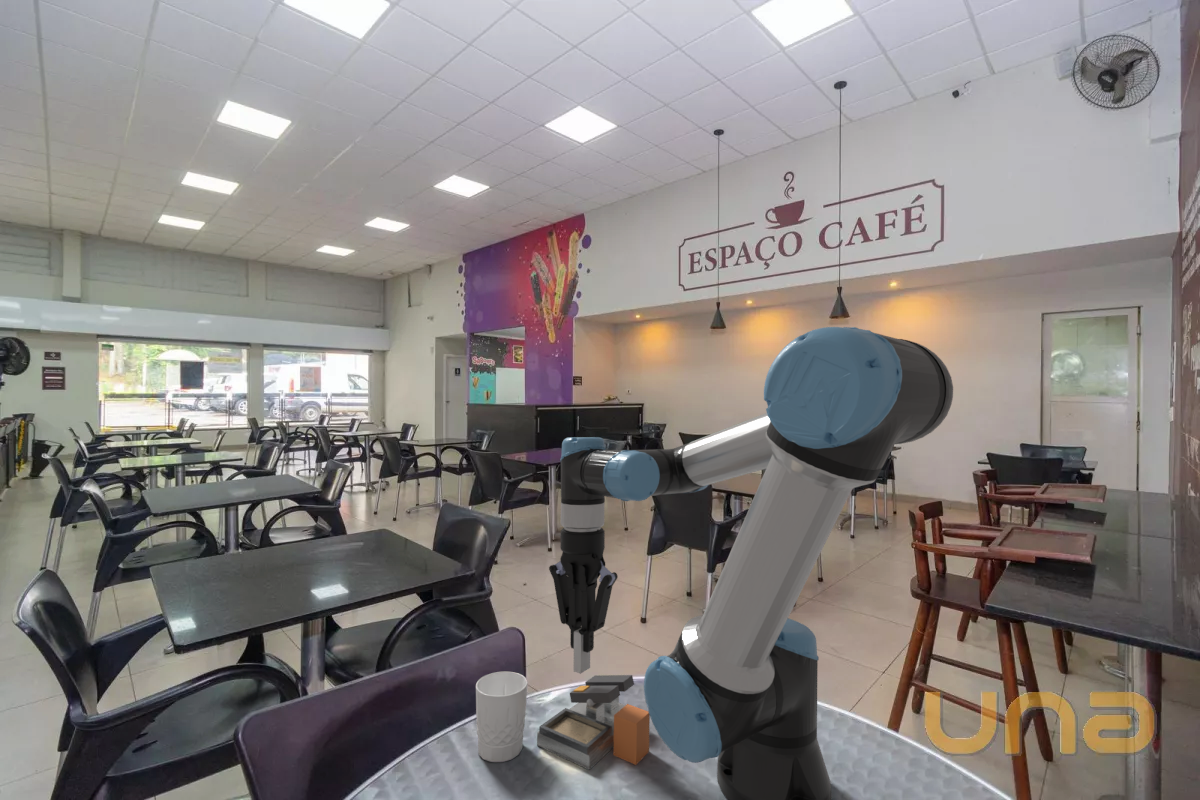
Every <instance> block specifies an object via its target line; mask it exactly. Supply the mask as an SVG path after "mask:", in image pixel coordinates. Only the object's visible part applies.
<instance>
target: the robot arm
mask: <svg viewBox="0 0 1200 800" xmlns="http://www.w3.org/2000/svg"><path fill="white" fill-rule="evenodd" d="M953 398H954V385H953V380H952V376H951V374H950V372H949V369H948V367H947V366H946V364H945V363H944V362H943V360H942V359H941V358H940V357H939V356H938V354H936V353H935V352H933V351H932V350H931V349H930V348H928V347H926V346H924V345H922V344H920V343H917V342H915V341H911V340H908V339H903V338H896V337H891V336H887V335H884V334H880V333H876V332H873V331H871V330H869V329H861V328H858V327H856V326H852V327H850V326H843V327H840V326H827V327H819V328H815V329H812V330H810V331H807V332H805V333H804V334H802V335H799V336H796V337H795V338H794V339H793V340H791V341H790V342H789V343H788V344H786V345H785V346H784V347H783V348H782V349H781V350H780V351H779V353H778V354H777V355H776V357H775V358H774V360H773V362H772V363H771V365H770V367H769V369H768V371H767V373H766V377H765V381H764V387H763V401H765V402H766V405H767V408H765V411H766V412H765V413H762V414H760V415H758V416H755V417H752V418H749V419H747V420H745V421H742V422H740V423H737V424H734V425H732V426H728V427H727V428H724V429H721V430H719V431H716V432H713V433H711V434H708V435H706V436H703V437H700V438H697V439H696V440H692V441H690V442H688V443H685V444H682V445H680V446H676V447H674V448H666V449H664V448H663V449H659V448H658V449H621V450H620V449H606V444H605V440H604V438H602V437H597V436H596V437H595V436H593V437H590V436H589V437H588V436H587V437H583V436H582V437H581V436H580V437H578V436H577V437H575V436H574V437H572V436H571V437H566V438H564V439H563V441H562V443H561V455H560V459H559V460H560V499H561V500H560V520H559V521H560V523H559V524H560V526H562V529H561V530H560V551H562V554H561V556H560V558H559V561H558V562H557V563H554V564H552V565H549V566H548V570H549V573H550V575H551V577H552V579H553V584H554V591H555V596H556V601H557V606H558V607H557V608H558V612H559V613H558V615H559V619H560V622H561V624H563V625H567V626H568V627H569V628H568V629H569V630H570V648H571V649H573V672H574V673H577V674H580V675H581V674H582V673H584V672H585V671H587V670H589V669H590V668H591V652H592V651H593V650H594V648H595V646H594V645H595V641H594V639H595V638H594V636H595V635H594V633H595V632H596V631H598V630H600V629H601V628H603V627H604V626H605V624H606V619H607V613H608V608H609V604H610V599H611V594H612V589H613V586H614V584H615V582H616V581H617V579H618V573H617V572H613V571H612V572H611V571H610V570H609V569H608V568H607V567H606V561H605V559H604V550H605V536H606V534H605V532H606V531H605V530H604V528H602V527H603V526H604V525H605V501H606V498H613V499H616V500H617V499H618V500H621V501H623V502H630V501H631V502H632V501H635V502H643V501H645V500H647V499H648V498H650V497H653V496H654V497H655V496H662V495H671V494H691V493H696V492H699V491H703V490H705V489H707V488H708V486H710V485H713V484H716V483H719V482H723V481H727V480H731V479H735V478H737V477H741V476H745V475H747V474H752V473H755V472H759V471H763V470H764V473H763V475H762V478H761V480H760V483H759V484H758V487H757V490H756V491H755V493H754V497H753V498H752V501H751V504H750V505H749V507H748V510H747V513H746V515H745V517H744V519H743V522H742V524H741V526H740V529H739V531H738V534H737V536H736V538H735V541H734V543H733V545H732V547H731V550H730V552H729V554H728V557H727V559H726V560H725V564H724V566H723V568H722V571H721V573H720V575H719V577H718V579H717V582H716V584H715V586H714V588H713V591H712V593H711V596H710V598H709V601H708V603H707V605H706V607H705V610H704V612H703V614H701V615H697V616H694V617H692V618H690V619H689V620H688V621H687V622H686V623H685V625H684V626H683V628H682V630H681V633H680V635H679V637H678V640H677V642H676V645H675V646H674V649H673V651H672V652H671V653H670V654H668V655H661V656H658V657H657V658H656V659H655V660H653V661H652V662H651V663H650V664H649V665H648V667H647V668H646V670H645V674H644V680H643V693H644V699H645V700H644V701H645V703H646V707H647V711H648V712H649V715H650V720H651V722H652V724H653V726H654V728H655V730H656V732H657V734H658V735H659V737H660V739H661V740H662V741H663V743H664V744H665V745H666V747H667V748H669V750H670V751H671V752H672V753H673V754H674V755H676V756H677V757H678V758H680V759H682V760H683V761H687V762H690V763H693V764H694V763H701V762H704V761H706V760H710V759H714V758H717V763H716V764H717V769H716V771H717V773H716V775H717V776H716V777H717V778H716V779H717V780H716V781H717V785H718V787H719V789H720V791H721V792H722V794H723V795H724V797H725V798H726V799H727V800H832V784H831V780H830V776H829V773H828V770H827V766H826V763H825V761H824V760H825V759H824V757H823V754H822V750H821V746H820V744H819V741H818V664H819V663H818V661H819V656H818V649H817V648H818V647H817V644H818V643H817V637H816V635H815V633H814V632H813V631H812V630H811V629H810V628H809V627H808V625H807V626H806V625H805V624H803V623H801V622H799V621H797V620H794V619H791V618H789V616H790V614H792V613H791V612H792V611H793V609H794V607H795V604H796V603H797V601H798V599H799V596H800V595H801V593H802V590H803V589H804V587H805V585H806V583H807V581H808V579H809V577H810V575H811V573H812V570H813V569H814V567H815V564H816V562H818V561H817V560H818V558H819V556H820V554H821V552H822V550H823V549H824V547H825V544H826V542H827V541H828V539H829V537H830V534H831V533H832V531H833V529H834V527H835V526H836V525H835V524H836V522H838V521H837V520H838V518H839V516H840V515H841V513H842V511H843V509H844V507H845V504H846V503H847V500H848V499H849V497H850V495H851V493H852V490H853V489H855V488H859V487H861V486H866V485H870V484H873V483H874V482H875V481H876V480H877V478H878V477H879V475H880V473H881V471H882V469H883V467H884V465H885V463H886V460H887V459H888V457H889V456H890V453H891V451H892V449H893V447H894V445H902V444H908V443H912V442H914V441H915V442H916V441H918V440H920V439H922V438H924V437H926V436H928V435H929V434H931V433H933V432H934V431H935V429H937V428H938V427H940V425H942V423H943V421H945V419H946V417H947V416H948V414H949V412H950V409H951V406H952V403H953ZM598 582H600V583H599V585H598ZM596 589H597V593H596Z"/></svg>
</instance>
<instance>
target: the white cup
mask: <svg viewBox="0 0 1200 800" xmlns="http://www.w3.org/2000/svg"><path fill="white" fill-rule="evenodd" d="M527 679H528V678H527V677H526V676H524V675H523V674H521V673H518V672H513V671H497V672H495V671H494V672H492V673H489V674H485V675H483V676H482V677H480V678H479V679H478V680H477V682H475V683H476V684H475V709H476V710H475V717H476V735H477V746H478V747H477V749H478V755H479V757H480V758H482V760H485V761H487V762H489V763H504V762H508V761H511V760H513V759H514V758H516V757H517V756H519V755H520V753H521V751H522V749H523V744H524V743H523V741H524V731H525V722H526V712H527V711H526V710H527V695H528V680H527Z"/></svg>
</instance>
